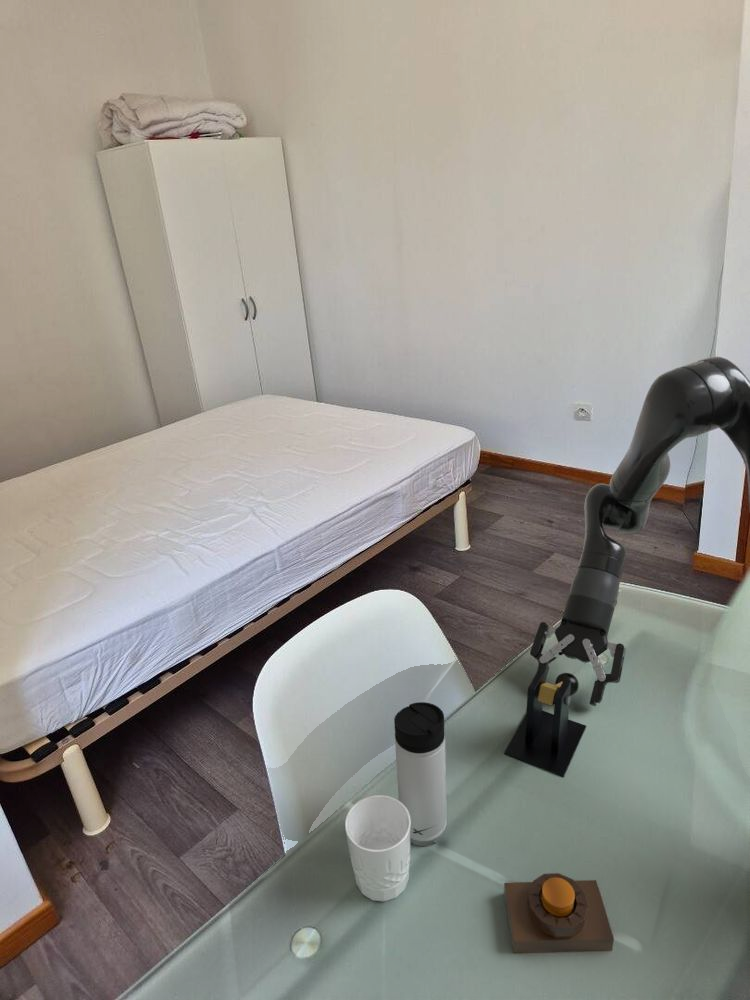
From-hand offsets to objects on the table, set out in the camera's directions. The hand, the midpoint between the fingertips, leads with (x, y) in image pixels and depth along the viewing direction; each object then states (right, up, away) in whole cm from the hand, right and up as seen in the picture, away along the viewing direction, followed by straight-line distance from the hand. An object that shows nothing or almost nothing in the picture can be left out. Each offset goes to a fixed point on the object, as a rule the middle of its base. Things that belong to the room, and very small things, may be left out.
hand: (565, 696), depth 110 cm
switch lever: (-3, +1, -5) cm, 6 cm away
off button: (-10, -15, -31) cm, 36 cm away
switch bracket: (-5, -6, -6) cm, 9 cm away
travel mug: (-24, -13, -17) cm, 32 cm away
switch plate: (-9, -18, -30) cm, 36 cm away
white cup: (-30, -16, -23) cm, 41 cm away
